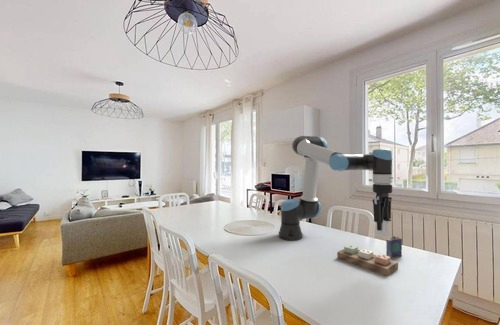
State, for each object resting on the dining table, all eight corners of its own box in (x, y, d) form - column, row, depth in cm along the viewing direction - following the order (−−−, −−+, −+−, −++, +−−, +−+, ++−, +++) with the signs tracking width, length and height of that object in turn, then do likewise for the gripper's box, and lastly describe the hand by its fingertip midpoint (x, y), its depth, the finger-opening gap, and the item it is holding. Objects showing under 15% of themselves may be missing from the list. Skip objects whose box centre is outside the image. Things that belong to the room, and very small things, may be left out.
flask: (389, 258, 113) (389, 236, 113) (384, 256, 116) (384, 235, 116) (403, 256, 116) (403, 234, 116) (397, 253, 119) (397, 233, 119)
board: (337, 258, 114) (337, 251, 114) (349, 252, 121) (349, 247, 121) (387, 276, 96) (387, 269, 96) (398, 268, 102) (398, 262, 102)
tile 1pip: (344, 251, 115) (344, 246, 115) (349, 249, 117) (349, 244, 117) (352, 254, 111) (352, 248, 111) (357, 252, 114) (357, 246, 114)
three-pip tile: (375, 261, 103) (375, 255, 103) (379, 259, 105) (379, 253, 105) (386, 265, 99) (385, 259, 99) (390, 262, 102) (390, 256, 102)
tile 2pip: (358, 256, 109) (358, 250, 109) (363, 254, 111) (363, 248, 111) (368, 259, 105) (368, 253, 105) (373, 257, 108) (373, 251, 108)
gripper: (382, 185, 94) (382, 242, 94) (399, 183, 104) (399, 234, 104) (364, 184, 100) (364, 237, 100) (382, 182, 110) (382, 230, 110)
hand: (382, 236), depth 102 cm, fingers open, 4 cm apart
